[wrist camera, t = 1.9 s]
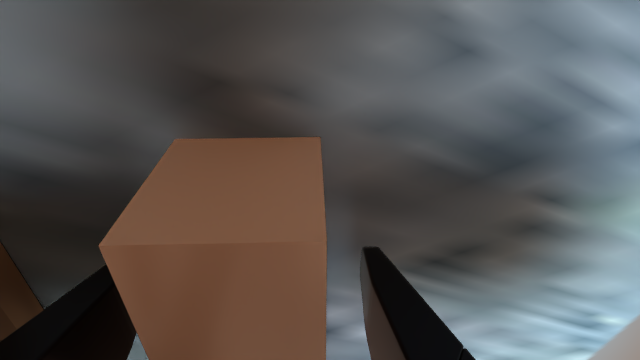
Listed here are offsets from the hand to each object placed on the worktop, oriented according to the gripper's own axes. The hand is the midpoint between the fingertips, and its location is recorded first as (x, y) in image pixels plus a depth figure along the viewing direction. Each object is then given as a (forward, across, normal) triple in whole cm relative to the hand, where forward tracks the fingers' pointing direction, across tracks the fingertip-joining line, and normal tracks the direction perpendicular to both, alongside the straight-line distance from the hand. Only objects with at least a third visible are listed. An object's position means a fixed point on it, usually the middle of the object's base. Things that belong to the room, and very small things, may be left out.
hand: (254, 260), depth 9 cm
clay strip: (+1, 0, +4) cm, 5 cm away
